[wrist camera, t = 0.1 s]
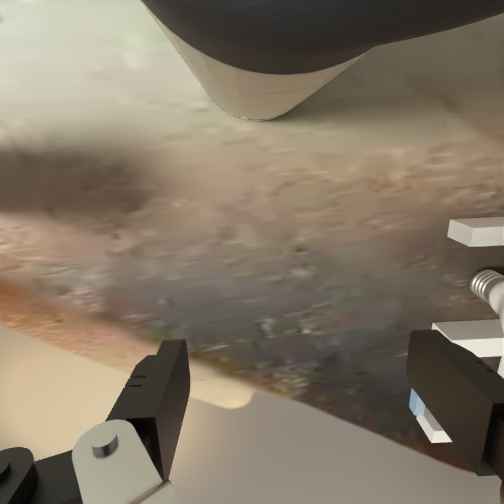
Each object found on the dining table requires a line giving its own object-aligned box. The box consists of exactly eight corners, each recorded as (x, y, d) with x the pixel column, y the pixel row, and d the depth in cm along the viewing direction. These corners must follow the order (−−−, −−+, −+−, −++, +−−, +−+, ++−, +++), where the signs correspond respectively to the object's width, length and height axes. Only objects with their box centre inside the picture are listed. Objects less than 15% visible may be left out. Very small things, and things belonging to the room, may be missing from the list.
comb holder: (437, 220, 28) (465, 230, 24) (557, 213, 28) (601, 223, 24) (406, 419, 35) (424, 448, 32) (500, 414, 35) (528, 442, 32)
